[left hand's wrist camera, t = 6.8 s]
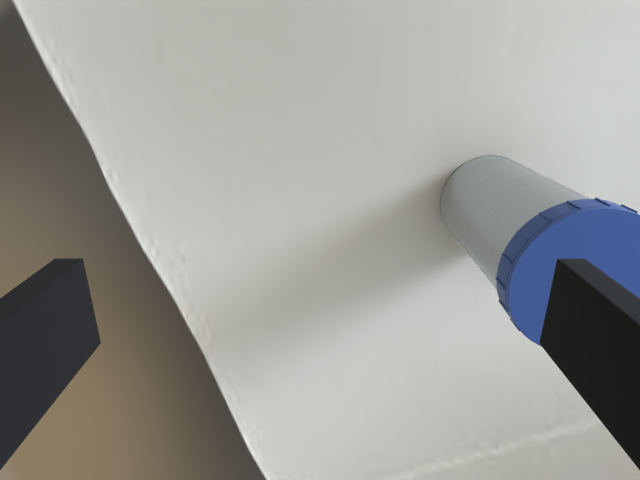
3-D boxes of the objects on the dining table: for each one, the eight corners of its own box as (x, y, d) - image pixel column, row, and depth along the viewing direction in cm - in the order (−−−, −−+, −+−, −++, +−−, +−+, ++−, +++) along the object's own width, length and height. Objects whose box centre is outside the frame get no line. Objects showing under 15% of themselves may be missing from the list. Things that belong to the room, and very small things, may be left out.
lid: (663, 302, 27) (686, 317, 26) (518, 355, 29) (531, 374, 27) (634, 171, 24) (658, 179, 23) (474, 238, 26) (485, 250, 24)
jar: (541, 220, 41) (671, 311, 26) (457, 255, 43) (534, 361, 27) (516, 139, 39) (644, 187, 23) (427, 179, 40) (493, 250, 25)
